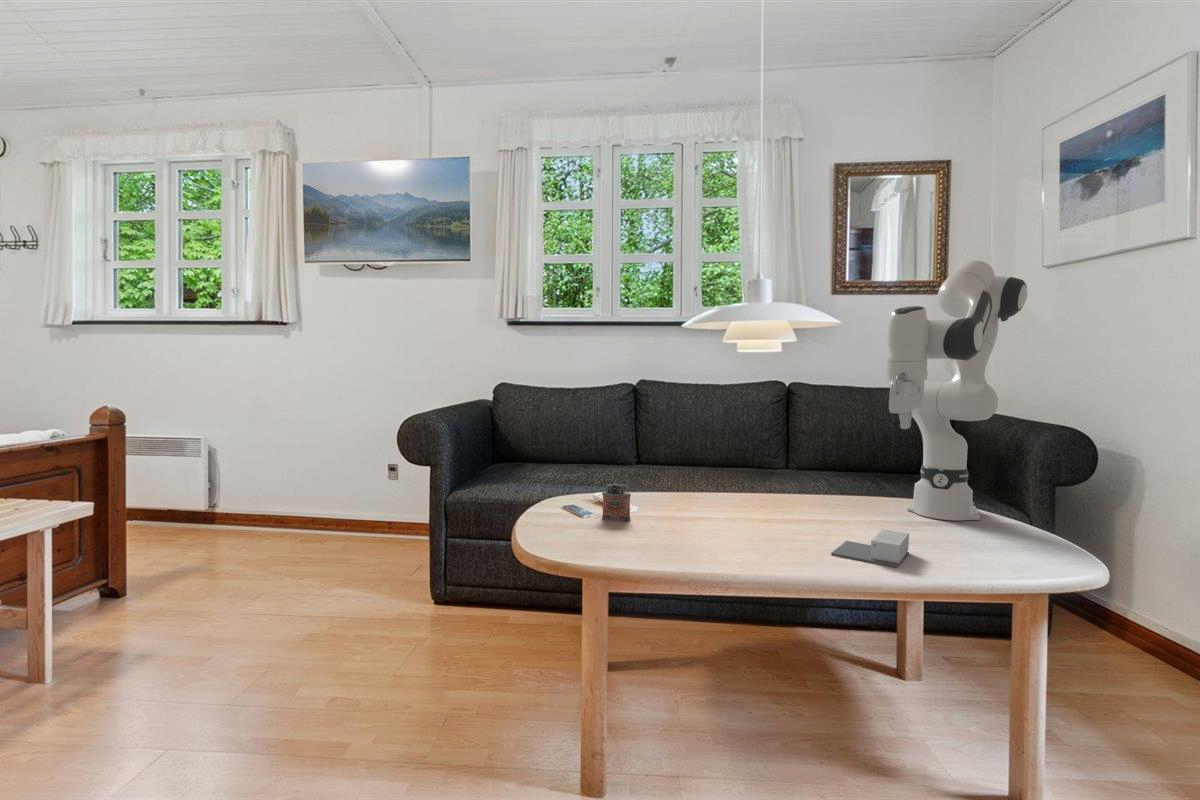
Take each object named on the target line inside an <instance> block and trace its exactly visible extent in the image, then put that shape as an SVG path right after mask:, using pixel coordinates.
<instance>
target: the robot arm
mask: <svg viewBox="0 0 1200 800" xmlns="http://www.w3.org/2000/svg"><path fill="white" fill-rule="evenodd" d="M937 291H938V293H937V296H936V297H937V298H936V299H937V303H938V305H939V307H940V309H941V310H942V311H943V312H944V313H946V314H947V315H948V316H950V317H952V318H955V319H940V320H938V319H937V320H936V319H935V320H934V319H933V320H930V319H929V318H928V316H927V310H926V308H925V307H924V306H918V305H917V306H916V305H915V306H906V307H899V308H896V309H894V310H893V311H892V312H891V314H890V317H889V323H888V330H887V331H888V333H887V347H888V356H887V358H886V359H887V362H886V364H887V365H886V369H887V370H886V379H887V381H892V382H891V383H890V387H889V399H888V410H889V413H890V414H898V418H899V423H900V424H899V427H900V429H901V430H908V429H910V428H911V427H912V426H911V425H912V423H911V422H912V418H913V420H914V421H915V422H916V424H917V426H918V428H919V431H920V433H921V434H920V435H921V437H922V438H921V439H922V445H923V446H922V449H923V451H922V454H923V455H922V464H921V467H920V477H921V478H920V480H918V481H917V482H915V483H914V490H913V500H912V501H913V502H912V504H910V505H907V506H906V511H909V512H911V513H912V512H913V513H915V514H916V515H919V516H921V517H922V516H923V517H925V518H926V517H927V518H929V519H936V520H941V521H942V520H944V521H956V522H957V521H958V522H960V521H980V520H981V515H980V514H979V511H978V509H977V508H976V506H975V502H974V501H973V493H974V492H973V489H972V488H971V487H970V485H968V481H969V469H968V468H967V464H968V462H967V461H968V448H969V446H968V443H967V440H966V438H964V436H963V435H961V434H959V432H958V433H957V432H956V431H955V430H954V428H953V427H952V425H951V420H952V421H962V422H963V421H965V422H975V421H976V422H977V421H986V420H988V419H990V418H991V417H993V415H994V414H995V412H996V411H997V409H998V405H999V397H998V395H997V392H996V391H995V389H994V388H993V387H992V386H991V385H989V383H987V381H986V377H985V373H986V368H987V365H988V362H989V359H990V357H991V354H992V351H993V349H994V347H995V344H996V340H997V337H998V332H999V321H1001V322H1006V321H1007V320H1009V318H1010V317H1013V316H1015V315H1017V314H1018V313H1019V312H1020V311H1021V310H1022V309H1023V307H1024V305H1025V303H1026V302H1027V299H1028V288H1027V283H1026V282H1025V280H1023V279H1021V278H1017V277H1013V276H1009V277H1006V276H1000V275H995V270H994V269H993V267H992V266H991V265H990V264H989V263H987V262H985V261H982V260H971V261H969V262H966V263H964V264H962V265H961V266H959V267H958V268H957V269H955V270H954V271H953V272H952V273H951V274H950V275H948V277H947V278H946V279H945V280H944V281H943V282H942V283H941V285H940V287H939V289H938V290H937ZM928 360H942V366H943V368H944V370H945V371H947V373H949V374H950V375H951V376H953V377H952V378H951V380H947V381H945V380H943V381H941V380H928Z"/></svg>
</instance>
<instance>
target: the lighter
mask: <svg viewBox="0 0 1200 800" xmlns="http://www.w3.org/2000/svg"><path fill="white" fill-rule="evenodd" d="M628 490H629V485H628V484H618V483H613V484H606V491H602V494H601V495H602V515H601V519H602V520H604V521H605V520H606V521H610V522H611V521H612V522H625V523H626V522H627V523H628V522H630V521H631V515H630V513H631V496H632V495H631V493H630V492H626V491H628Z"/></svg>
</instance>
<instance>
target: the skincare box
mask: <svg viewBox="0 0 1200 800" xmlns="http://www.w3.org/2000/svg"><path fill="white" fill-rule="evenodd" d="M909 542H910V533H909V532H904V531H897V530H892V529H891V530H890V529H884V528H882V529H880V531H879V532H878V533H877V534H876V535H875V536H874V537H873V538H872V540H871V541H870V545H871V559H875V560H881V561H887V562H893V563H898V564H899V563H900V562H901V560H902V559H903V557H904V556H905V554H906V553H907V552H909V551H908V550H909V544H910V543H909Z"/></svg>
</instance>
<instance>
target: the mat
mask: <svg viewBox="0 0 1200 800" xmlns="http://www.w3.org/2000/svg"><path fill="white" fill-rule="evenodd" d="M830 555H831V556H834V555H835V557H839V556H840V558H844V557H845V559H849V558H850V559H851V560H854V559H855V561H859V562H864V561H865V563H869V562H870V564H875V565H880V564H881V566H885V565H886V567H890V566H891V568H896V569H898V568H899V567H900V565H901V564H903V563H904V561H905V560H906V558H907V557H908V556H909V555H910V551H907V553H906V554H905V556H904V557H903V559H902V560H901V562H900V563H899V564H898V563H893V562H887V561H881V560H875V559H871V544H867V543H860V542H854V541H849V540H845V542H843V543H842V544H840V545H839V546H838V547H837V548H835V549H834V550H833V551H832V552H831V553H830ZM904 559H905V560H904ZM898 566H899V567H898Z"/></svg>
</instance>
